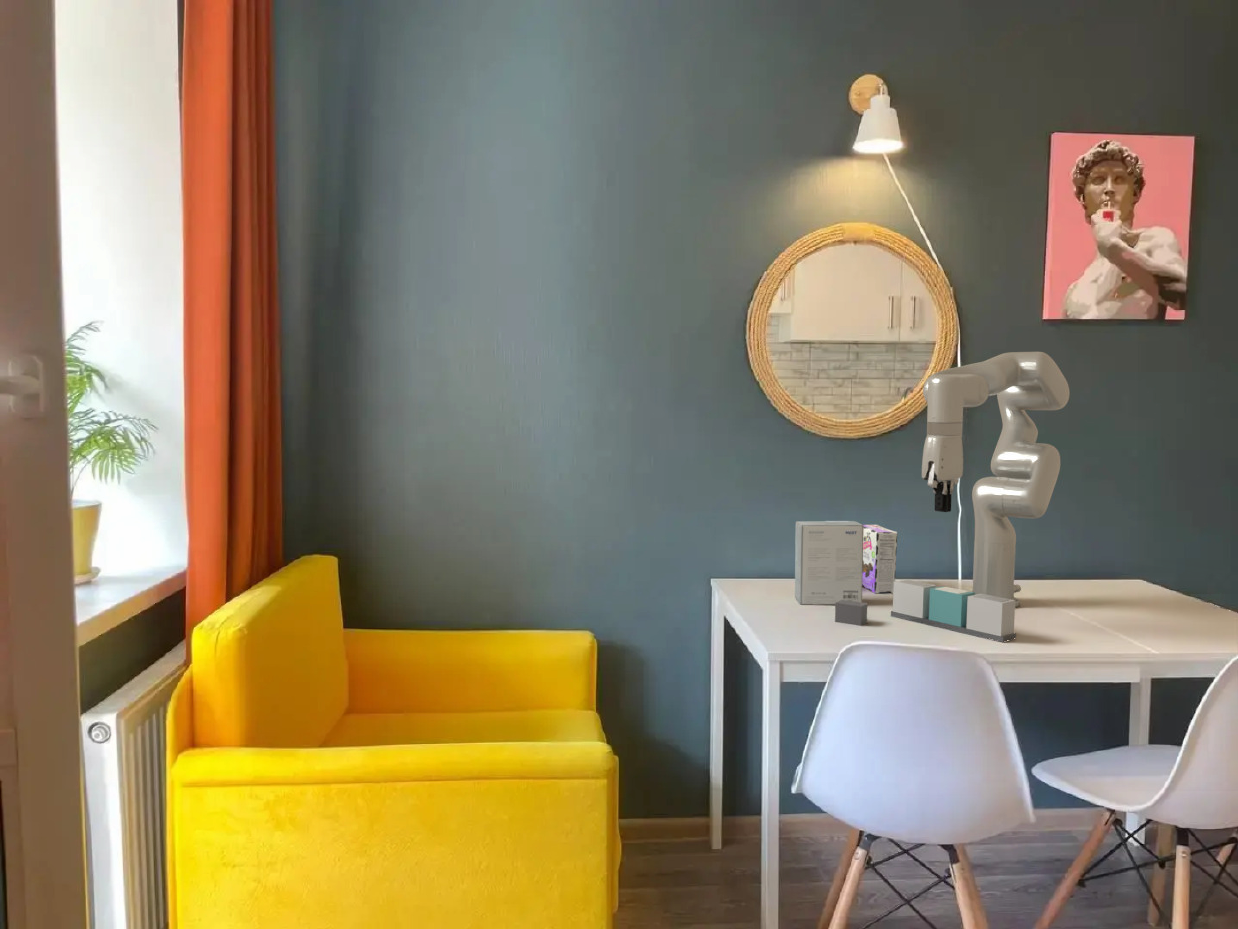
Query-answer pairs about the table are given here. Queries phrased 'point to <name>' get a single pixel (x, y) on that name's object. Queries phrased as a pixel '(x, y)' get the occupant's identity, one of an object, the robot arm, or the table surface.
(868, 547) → the candy box
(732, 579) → the table surface
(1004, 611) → the block
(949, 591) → the block
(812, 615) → the table surface
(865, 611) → the dark grey block
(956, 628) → the rail
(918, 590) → the block
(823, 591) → the hard drive box
